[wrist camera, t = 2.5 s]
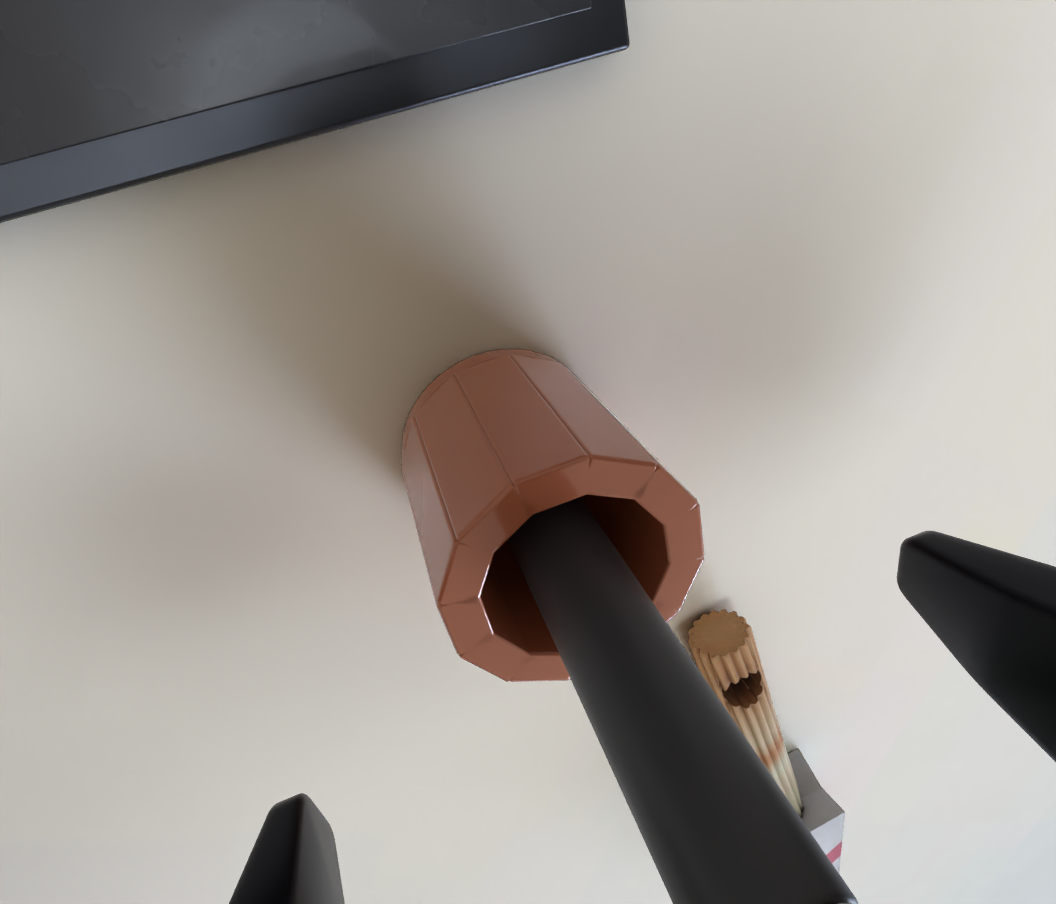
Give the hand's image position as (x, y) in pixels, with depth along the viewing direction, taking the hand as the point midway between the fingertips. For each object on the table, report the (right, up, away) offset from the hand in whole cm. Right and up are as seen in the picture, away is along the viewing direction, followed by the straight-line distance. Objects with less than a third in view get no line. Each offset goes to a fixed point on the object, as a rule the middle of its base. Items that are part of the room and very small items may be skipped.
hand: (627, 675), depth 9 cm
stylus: (-2, +3, +5) cm, 7 cm away
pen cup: (-2, +3, +6) cm, 7 cm away
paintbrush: (+7, -9, +16) cm, 20 cm away
